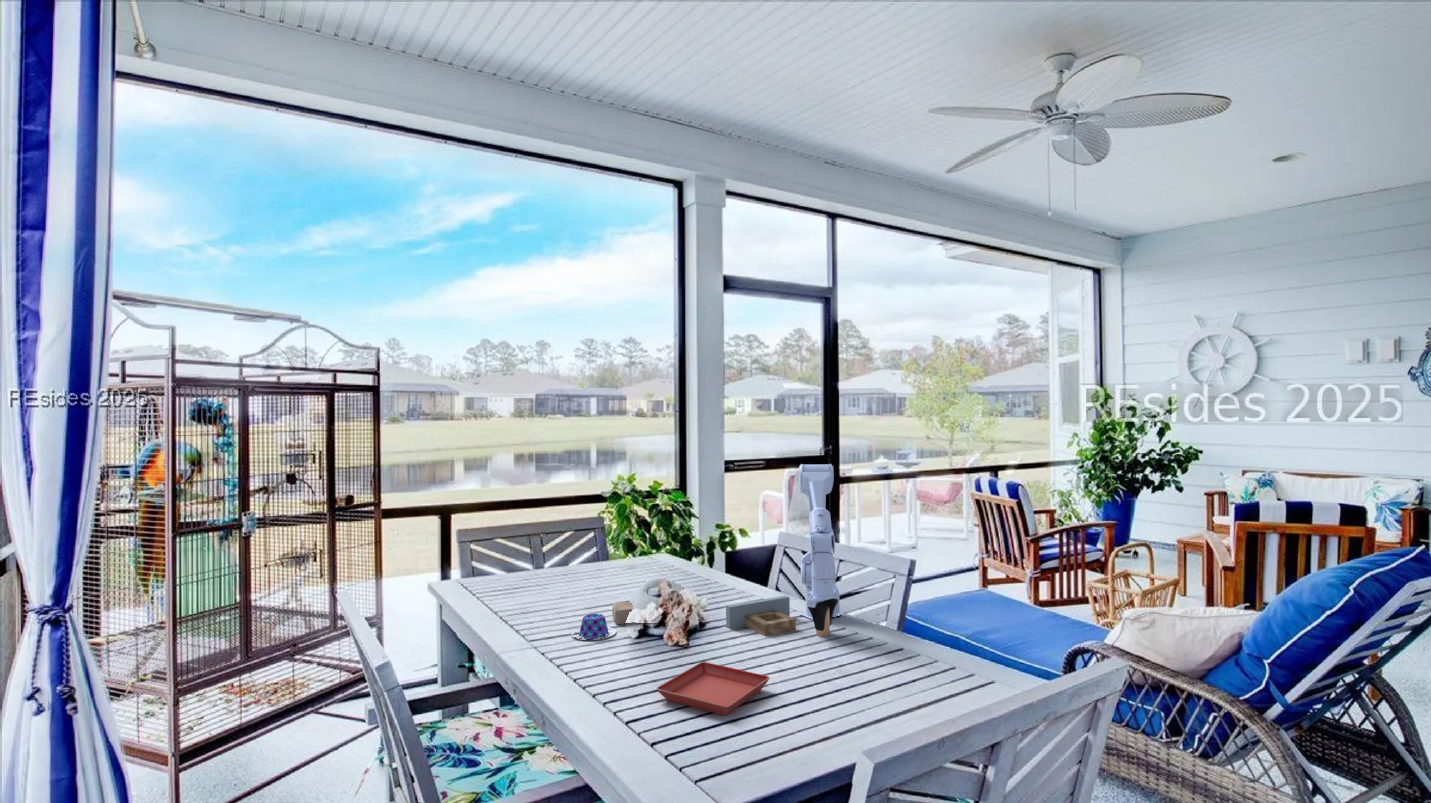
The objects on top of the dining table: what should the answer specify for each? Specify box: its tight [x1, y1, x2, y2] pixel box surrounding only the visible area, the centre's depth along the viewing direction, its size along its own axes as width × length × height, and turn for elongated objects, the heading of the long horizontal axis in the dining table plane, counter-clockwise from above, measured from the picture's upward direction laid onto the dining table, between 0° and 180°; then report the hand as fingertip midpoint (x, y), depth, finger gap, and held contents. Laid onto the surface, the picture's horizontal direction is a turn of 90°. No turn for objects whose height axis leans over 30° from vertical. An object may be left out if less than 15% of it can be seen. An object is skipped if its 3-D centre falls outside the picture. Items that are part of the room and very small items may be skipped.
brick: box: [611, 601, 633, 625], centre depth 214 cm, size 17×8×5 cm, turn 104°
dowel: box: [815, 608, 831, 638], centre depth 198 cm, size 4×4×7 cm
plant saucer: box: [656, 661, 771, 716], centre depth 158 cm, size 18×18×3 cm
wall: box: [725, 595, 791, 630], centre depth 209 cm, size 20×2×6 cm, turn 119°
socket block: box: [744, 610, 797, 637], centre depth 204 cm, size 10×10×3 cm
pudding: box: [571, 613, 617, 641], centre depth 200 cm, size 12×12×5 cm
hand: (822, 628), depth 198 cm, fingers closed on dowel, 4 cm apart
